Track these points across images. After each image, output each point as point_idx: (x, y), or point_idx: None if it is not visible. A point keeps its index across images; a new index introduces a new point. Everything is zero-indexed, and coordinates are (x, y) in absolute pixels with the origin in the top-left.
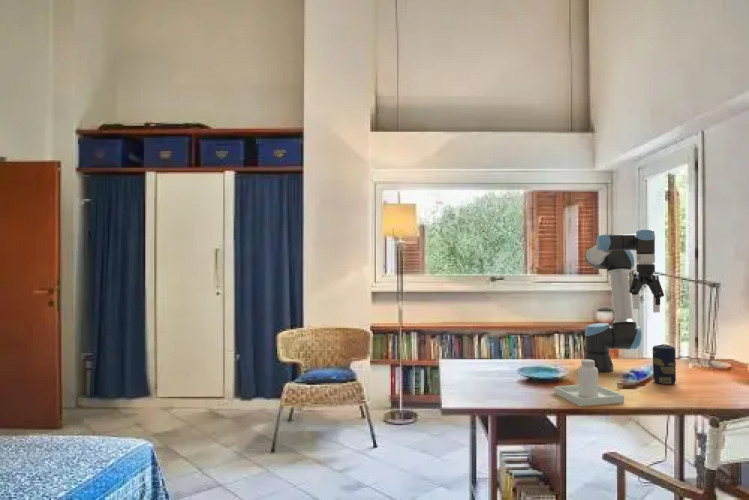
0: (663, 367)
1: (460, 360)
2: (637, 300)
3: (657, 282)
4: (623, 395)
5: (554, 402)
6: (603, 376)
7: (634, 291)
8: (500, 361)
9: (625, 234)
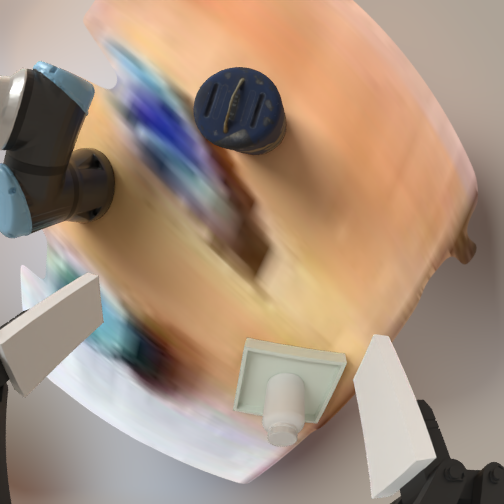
0: (271, 145)
1: None
2: (49, 330)
3: None
4: (346, 363)
5: None
6: (145, 225)
7: (4, 422)
8: None
9: None
